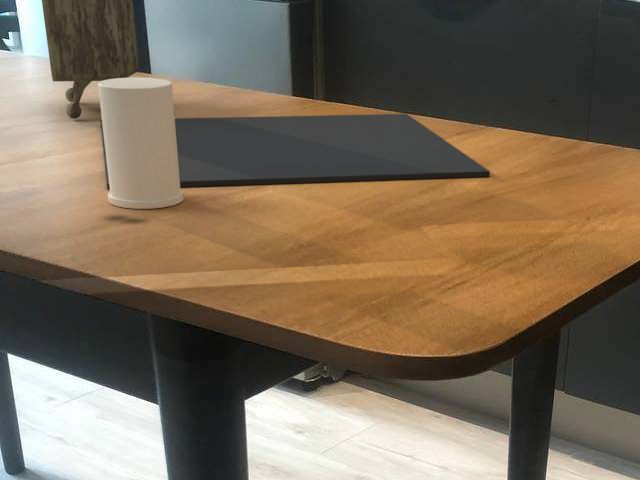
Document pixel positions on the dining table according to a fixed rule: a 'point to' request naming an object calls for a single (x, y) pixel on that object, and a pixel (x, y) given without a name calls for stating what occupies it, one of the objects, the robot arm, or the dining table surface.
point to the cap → (140, 142)
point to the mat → (312, 150)
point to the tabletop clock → (89, 43)
